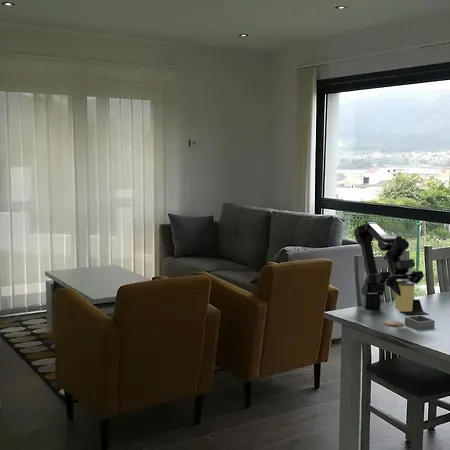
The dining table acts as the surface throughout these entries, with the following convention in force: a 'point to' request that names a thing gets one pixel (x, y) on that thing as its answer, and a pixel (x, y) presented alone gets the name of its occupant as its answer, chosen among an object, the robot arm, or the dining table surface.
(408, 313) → the black wedge stand
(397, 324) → the pad
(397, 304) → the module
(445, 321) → the dining table surface
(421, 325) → the case
